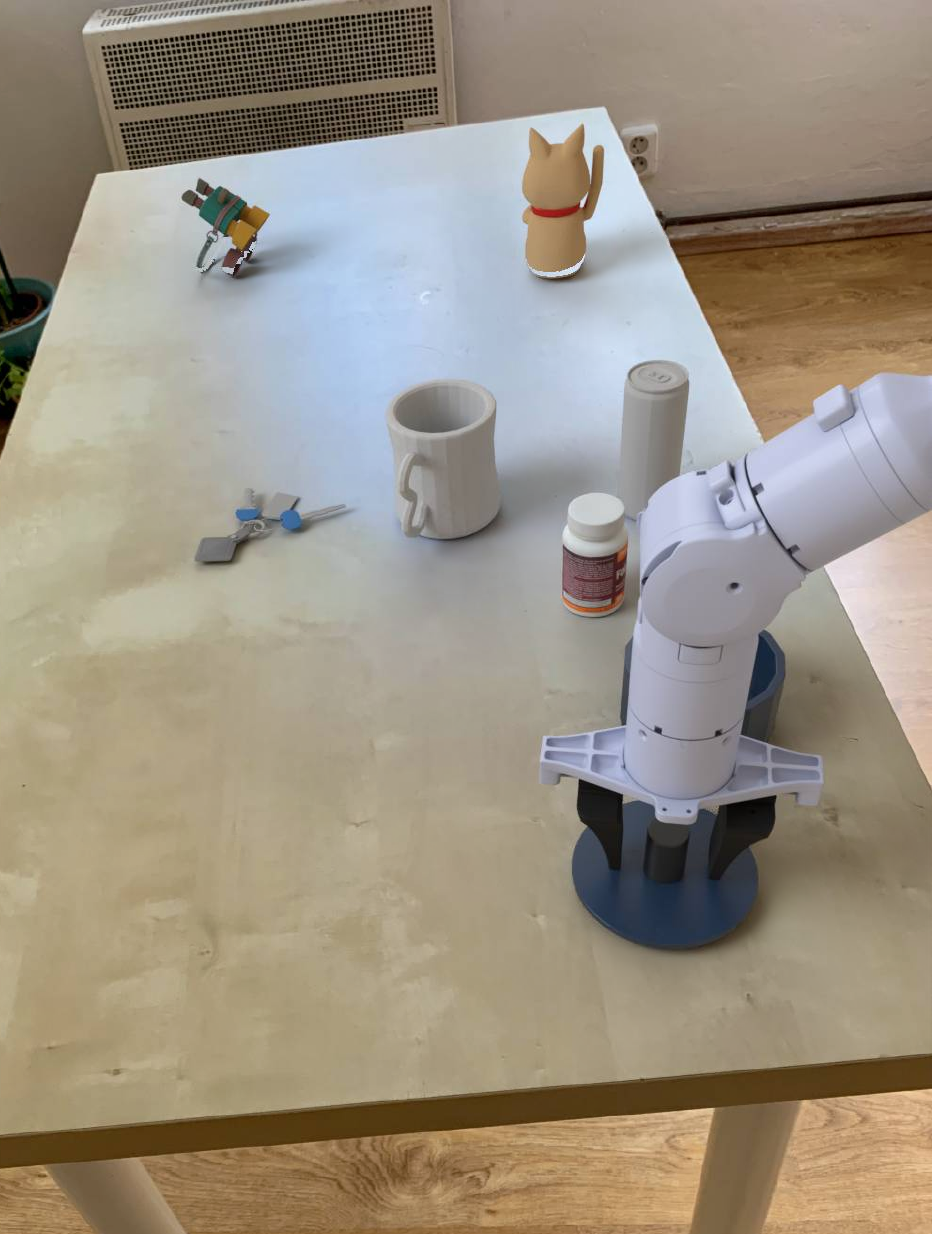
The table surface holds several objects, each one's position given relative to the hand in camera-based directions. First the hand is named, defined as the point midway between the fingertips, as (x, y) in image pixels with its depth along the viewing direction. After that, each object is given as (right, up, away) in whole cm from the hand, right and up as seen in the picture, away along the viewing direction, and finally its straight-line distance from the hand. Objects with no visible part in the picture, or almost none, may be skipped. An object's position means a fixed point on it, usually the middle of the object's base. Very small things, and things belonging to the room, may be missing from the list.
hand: (664, 861), depth 65 cm
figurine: (+4, +61, +58) cm, 84 cm away
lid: (0, -1, +1) cm, 1 cm away
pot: (+5, +9, +10) cm, 14 cm away
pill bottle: (0, +18, +19) cm, 27 cm away
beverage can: (+6, +27, +26) cm, 38 cm away
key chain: (-27, +27, +31) cm, 50 cm away
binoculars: (-33, +65, +68) cm, 100 cm away
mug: (-11, +26, +28) cm, 40 cm away
